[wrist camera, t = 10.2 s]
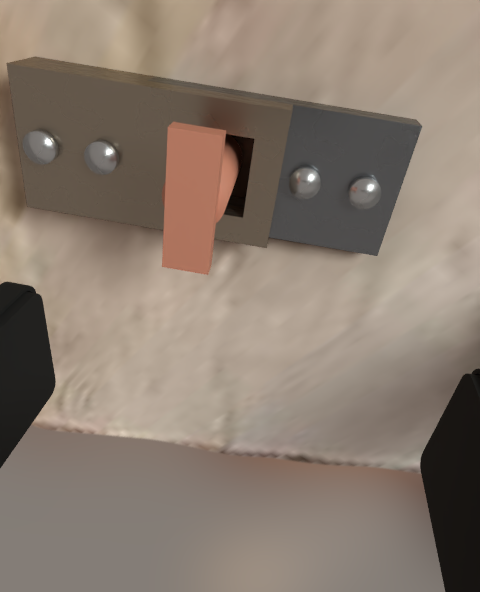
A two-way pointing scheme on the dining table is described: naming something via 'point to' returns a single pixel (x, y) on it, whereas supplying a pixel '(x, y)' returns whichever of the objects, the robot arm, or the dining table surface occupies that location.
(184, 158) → the orange t-shaped block
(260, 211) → the studded slotted plate
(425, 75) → the dining table surface
